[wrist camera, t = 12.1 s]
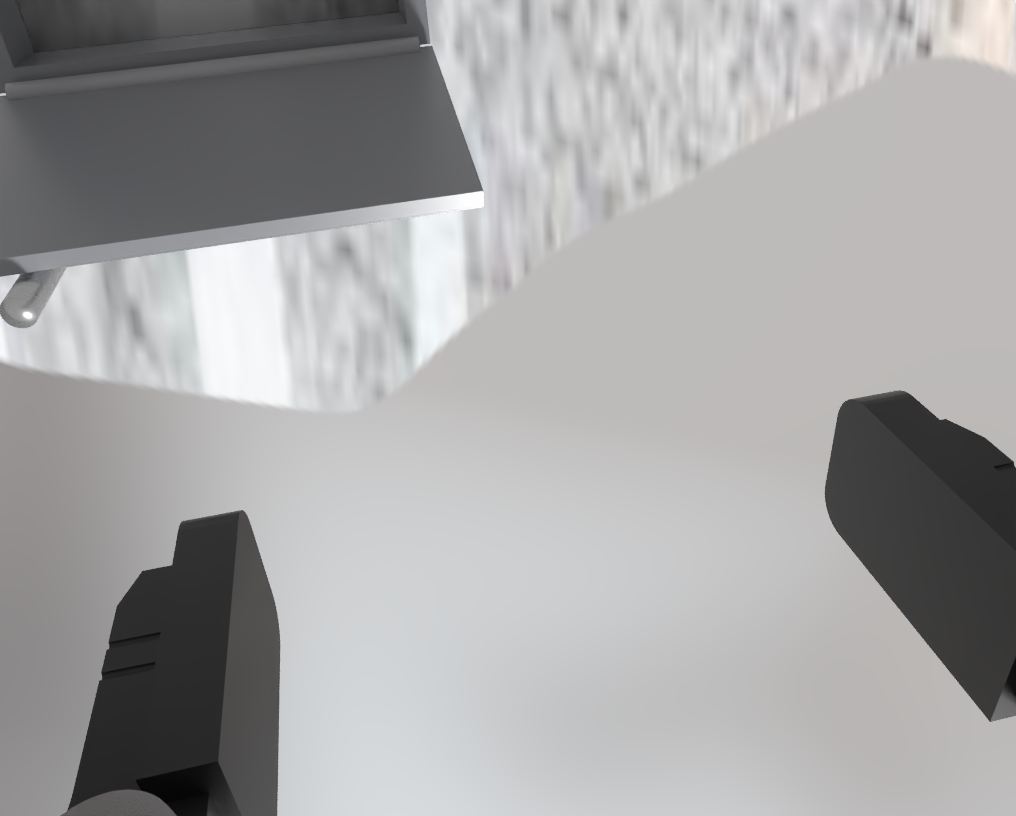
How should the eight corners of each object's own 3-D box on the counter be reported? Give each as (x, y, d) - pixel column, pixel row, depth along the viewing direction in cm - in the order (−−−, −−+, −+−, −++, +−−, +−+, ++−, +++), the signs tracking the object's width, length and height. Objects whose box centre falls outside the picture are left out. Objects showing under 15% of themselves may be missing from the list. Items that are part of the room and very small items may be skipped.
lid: (482, 179, 26) (483, 207, 27) (429, 31, 33) (431, 56, 34) (-73, 257, 24) (-55, 284, 25) (-8, 81, 31) (5, 106, 32)
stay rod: (133, 124, 35) (57, 252, 24) (156, 198, 37) (95, 351, 26) (53, 135, 35) (-65, 269, 24) (80, 209, 37) (-17, 369, 25)
